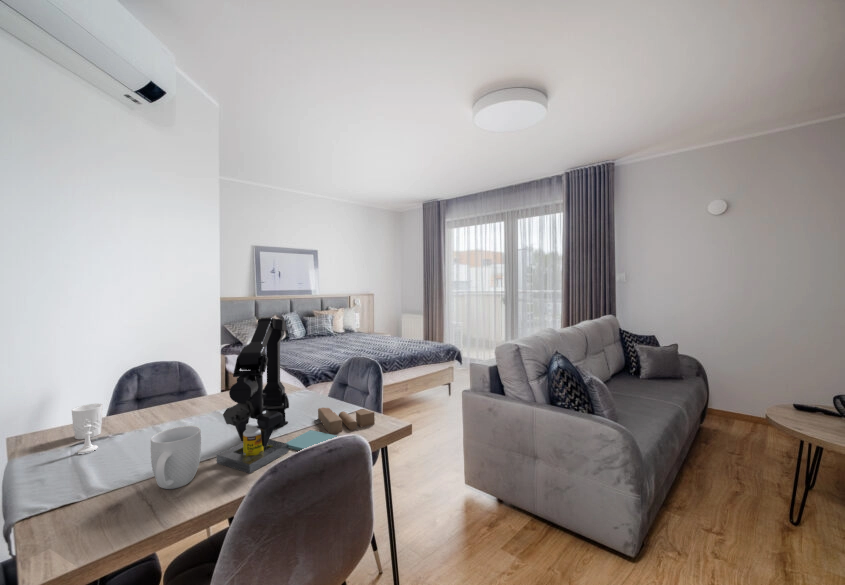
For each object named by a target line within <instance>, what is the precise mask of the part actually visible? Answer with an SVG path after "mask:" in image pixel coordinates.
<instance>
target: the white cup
mask: <svg viewBox="0 0 845 585" xmlns="http://www.w3.org/2000/svg"><path fill="white" fill-rule="evenodd" d="M71 417H72V418H71V419H72V428H73V432H74V440H85V435H83V433H85V431H84V429H83V426H85V425H86V424H83V422H86V420H87V419H88V421H91V422H90V423H88V424H89V425H91V428H90V432H92V433H91V434H89V436H90V439H91V438H95V437H96V436H99V435H101V433H102V424H103V404H102V403H89V404H83V405H80V406H76V407H74V408H72V409H71Z"/></svg>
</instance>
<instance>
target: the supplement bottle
mask: <svg viewBox="0 0 845 585" xmlns="http://www.w3.org/2000/svg"><path fill="white" fill-rule="evenodd" d="M258 426H259V425H258V424H257V421H250V422H248V424H246V430H245V431H244V432H243V441H242V443H243V455H244V456H248V457H251V458H252V457H253V456H255V455H257V454H259V453H261V452H263V451H264V449H263V446H262V440H261V430H259V429H258V428H257V427H258Z"/></svg>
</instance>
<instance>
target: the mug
mask: <svg viewBox="0 0 845 585" xmlns="http://www.w3.org/2000/svg"><path fill="white" fill-rule="evenodd" d="M201 433H202V432H201V428H200V427H199V426H197V425H184V426H183V425H182V426H175V427H172V428H167V429H164V430H161V431H160V432H157V433H155V434H154V435H152V436H151V438H150V460H151V462H150V463H151V468H152V473H153V475H154V478H155V480H156V484H157V486H158V487H160V488H162V489H165V490H174V489H179V488H181V487H184V486H186V485H187V484H189V483H191V481H192V480H193V479H194V477H195V476H196V473H197V471H198V469H199V465H200V462H201V455H202V434H201Z"/></svg>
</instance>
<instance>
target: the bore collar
mask: <svg viewBox="0 0 845 585" xmlns="http://www.w3.org/2000/svg"><path fill="white" fill-rule="evenodd" d="M263 449H264V451H263V452H261V453H259V454H257V455H255V456H253V457H252V458H251V457H248V456H244V455H243V442H242V443H241V442H240V443H239V444H236V445H235V446H232V447H230V448H227V449H226V450H224V451H222V452H219V453H217V454H216V464H219V465H222V466H225V467H229V468H232V469H235V470H237V471H241V472H244V473H248V474H251V473H253V472H255V471H257V470H258V469H260V468H262V467H264V466H266V465H267V464H270V463H271V462H273V461H275V460H276V459H279V458H280V457H282V456H284V455H285V454H288V453H289V449H290V448H289V445H288V444H287V443H286V442H282V441H279V440H274V439H270V438H269V440H268V443H267V445H266V446H264V447H263Z"/></svg>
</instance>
